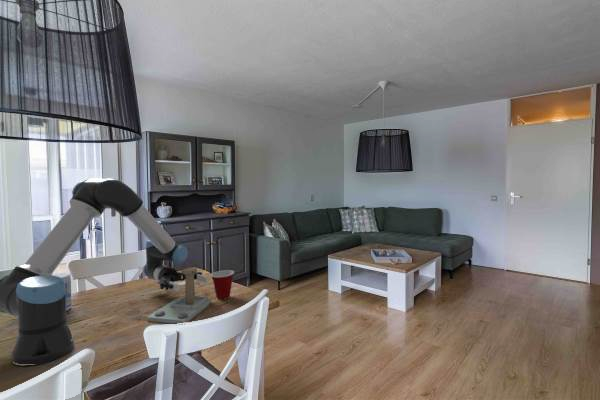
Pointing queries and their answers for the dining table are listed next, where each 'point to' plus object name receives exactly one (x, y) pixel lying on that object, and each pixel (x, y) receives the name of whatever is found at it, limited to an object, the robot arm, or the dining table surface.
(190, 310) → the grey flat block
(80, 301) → the dining table surface
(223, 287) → the plastic cup
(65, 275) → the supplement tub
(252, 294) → the dining table surface
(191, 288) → the handle
